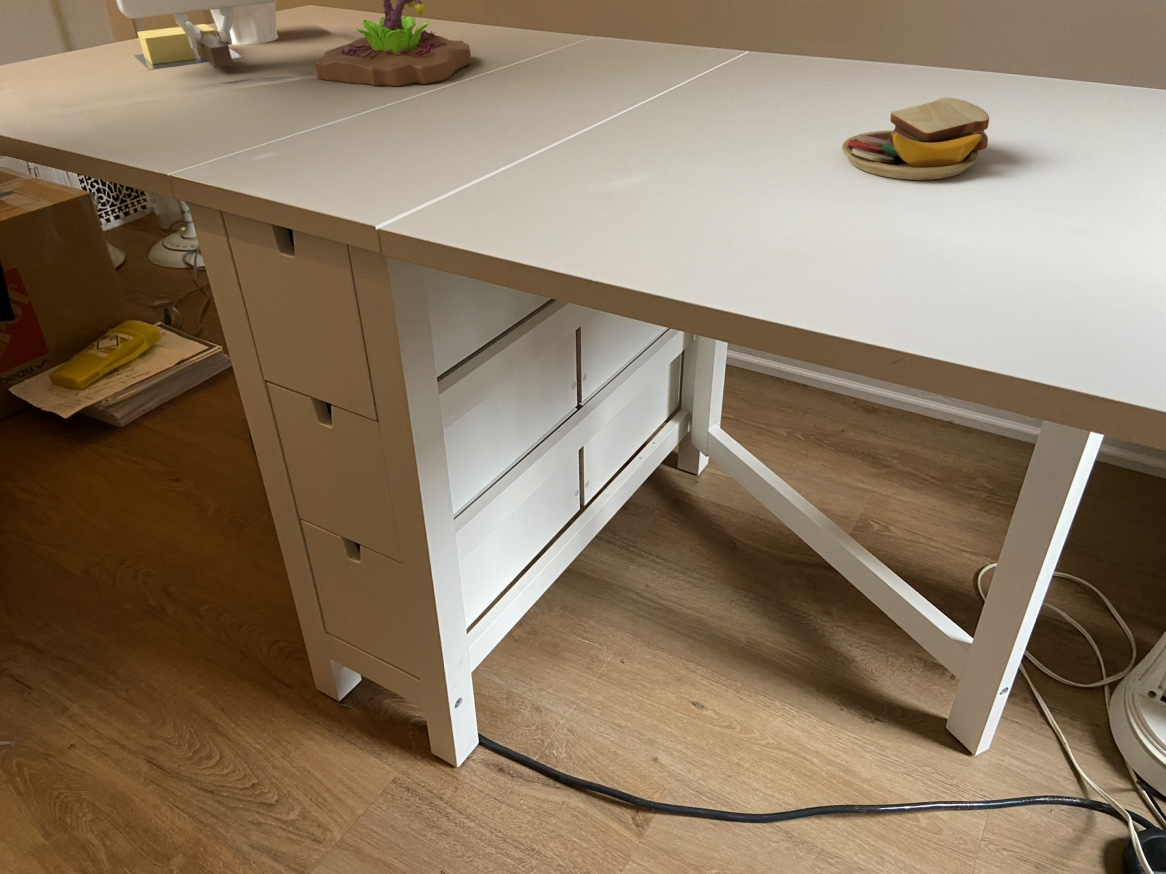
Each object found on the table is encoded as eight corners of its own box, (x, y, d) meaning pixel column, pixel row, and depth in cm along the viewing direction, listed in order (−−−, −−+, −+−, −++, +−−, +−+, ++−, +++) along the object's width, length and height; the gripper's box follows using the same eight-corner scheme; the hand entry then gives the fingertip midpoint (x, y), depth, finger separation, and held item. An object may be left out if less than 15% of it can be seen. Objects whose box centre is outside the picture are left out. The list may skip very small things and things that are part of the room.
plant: (366, 51, 133) (353, -32, 126) (486, 56, 128) (480, -30, 122) (296, 83, 117) (278, -10, 111) (431, 89, 113) (420, -7, 106)
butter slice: (207, 57, 127) (200, 31, 125) (198, 50, 131) (191, 25, 129) (221, 55, 128) (215, 29, 126) (211, 48, 132) (205, 23, 130)
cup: (291, 50, 135) (275, -31, 128) (206, 56, 132) (185, -26, 126) (294, 35, 145) (279, -41, 138) (215, 40, 142) (196, -36, 136)
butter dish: (151, 77, 122) (148, 69, 121) (135, 62, 130) (133, 55, 130) (245, 64, 127) (243, 56, 127) (224, 50, 136) (223, 43, 135)
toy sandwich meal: (823, 145, 89) (829, 97, 87) (951, 139, 90) (961, 91, 88) (867, 187, 79) (875, 133, 76) (1010, 179, 80) (1024, 126, 77)
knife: (233, 64, 118) (227, 40, 116) (214, 67, 117) (208, 43, 115) (199, 41, 132) (194, 19, 130) (183, 43, 131) (177, 21, 129)
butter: (152, 64, 124) (144, 38, 122) (144, 57, 128) (137, 31, 126) (196, 59, 126) (189, 32, 124) (187, 52, 131) (180, 26, 129)
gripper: (98, -62, 105) (135, 61, 113) (268, -75, 114) (291, 40, 122) (91, -66, 110) (127, 52, 118) (255, -78, 118) (278, 33, 126)
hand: (212, 46), depth 120 cm, fingers closed on knife, 2 cm apart
